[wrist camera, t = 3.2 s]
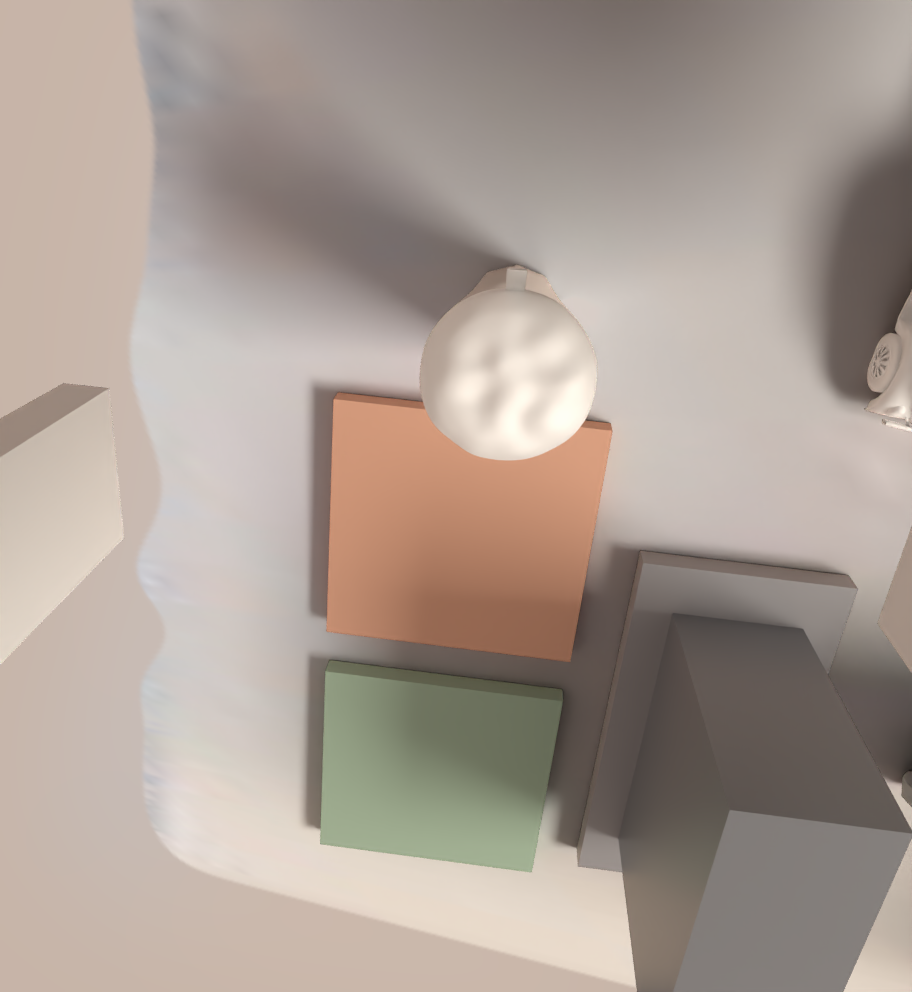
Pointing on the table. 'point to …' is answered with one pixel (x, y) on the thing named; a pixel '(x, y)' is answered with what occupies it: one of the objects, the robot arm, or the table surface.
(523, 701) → the pad sage
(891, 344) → the car
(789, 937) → the block
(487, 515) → the pad terracotta
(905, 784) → the electrical switch
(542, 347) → the milkshake
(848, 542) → the table surface
